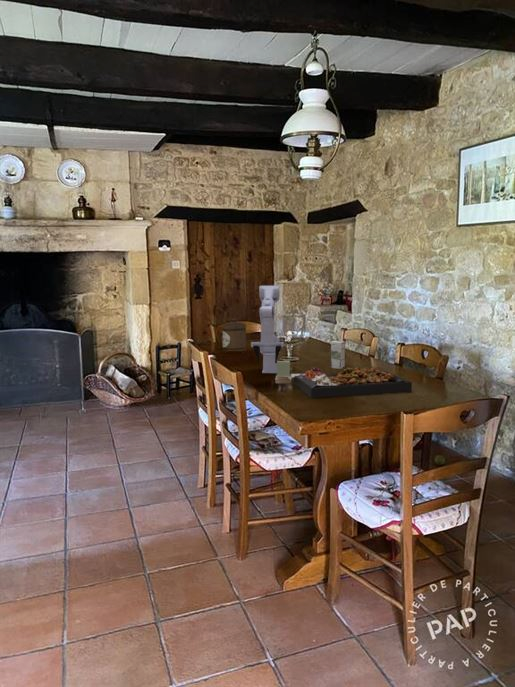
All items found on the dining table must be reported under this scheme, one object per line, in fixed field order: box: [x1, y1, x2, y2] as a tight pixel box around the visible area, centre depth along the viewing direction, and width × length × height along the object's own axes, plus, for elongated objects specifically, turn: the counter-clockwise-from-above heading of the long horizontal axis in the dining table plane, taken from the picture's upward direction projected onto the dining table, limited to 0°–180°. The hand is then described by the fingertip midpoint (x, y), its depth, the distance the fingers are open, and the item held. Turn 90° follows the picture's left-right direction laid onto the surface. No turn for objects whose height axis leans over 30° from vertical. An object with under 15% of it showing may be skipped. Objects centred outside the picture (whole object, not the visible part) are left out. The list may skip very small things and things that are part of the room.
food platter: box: [293, 363, 413, 400], centre depth 221 cm, size 45×25×10 cm, turn 102°
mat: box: [290, 373, 305, 379], centre depth 245 cm, size 8×8×1 cm
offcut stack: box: [275, 376, 292, 384], centre depth 231 cm, size 2×7×3 cm, turn 86°
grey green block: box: [276, 360, 291, 377], centre depth 238 cm, size 2×6×8 cm, turn 86°
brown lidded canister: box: [221, 317, 247, 351], centre depth 311 cm, size 15×15×22 cm
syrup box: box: [330, 339, 346, 370], centre depth 263 cm, size 6×6×14 cm
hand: (267, 362), depth 225 cm, fingers open, 7 cm apart
